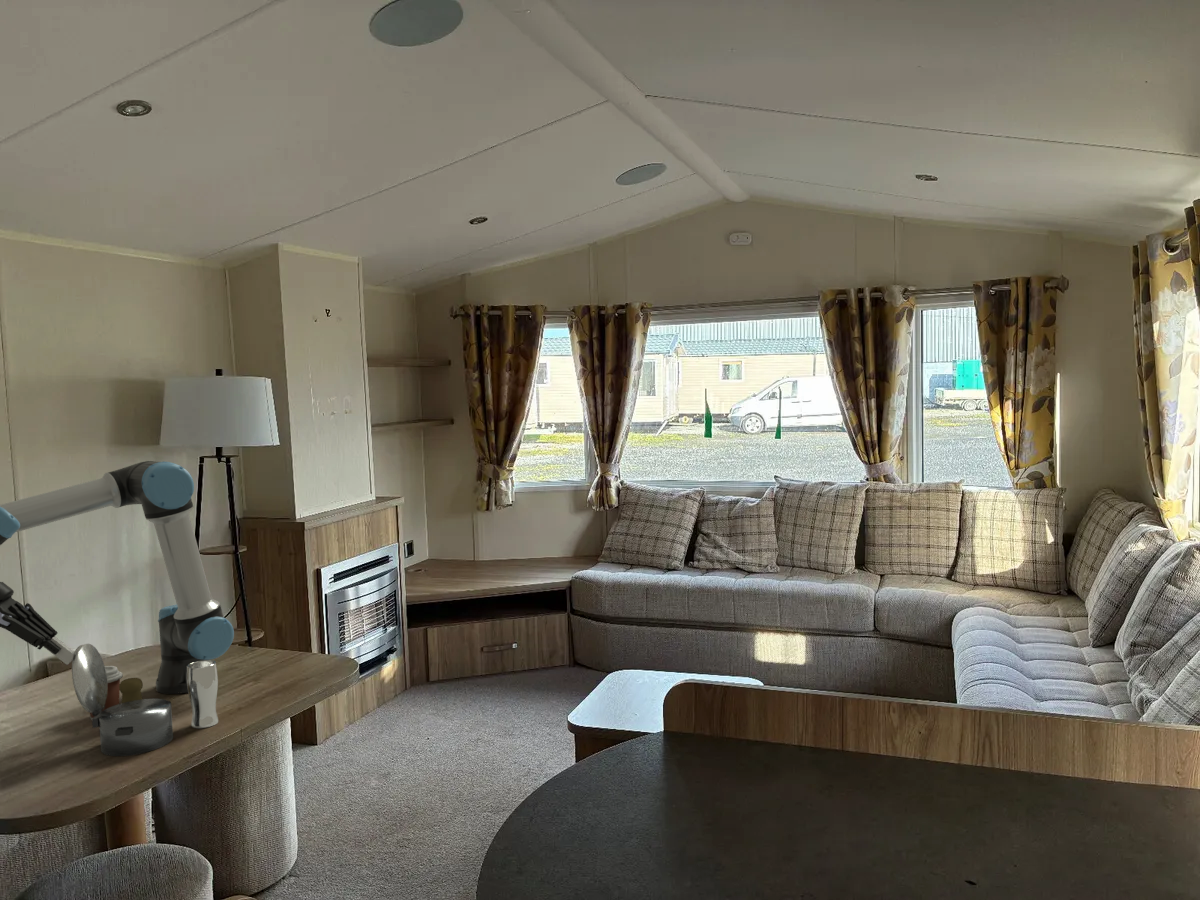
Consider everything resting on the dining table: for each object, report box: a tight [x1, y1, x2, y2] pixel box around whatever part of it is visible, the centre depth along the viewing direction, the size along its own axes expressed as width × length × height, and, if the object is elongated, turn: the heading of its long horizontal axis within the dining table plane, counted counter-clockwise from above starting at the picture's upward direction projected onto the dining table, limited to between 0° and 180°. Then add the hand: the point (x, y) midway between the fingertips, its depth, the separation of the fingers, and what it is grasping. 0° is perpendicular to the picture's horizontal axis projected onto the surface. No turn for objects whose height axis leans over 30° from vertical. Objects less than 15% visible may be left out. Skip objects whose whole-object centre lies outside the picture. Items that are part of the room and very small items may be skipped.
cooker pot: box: [91, 698, 174, 757], centre depth 210 cm, size 16×19×8 cm
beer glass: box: [187, 659, 219, 729], centre depth 221 cm, size 7×7×15 cm
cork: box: [119, 677, 144, 703], centre depth 224 cm, size 6×6×11 cm
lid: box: [71, 643, 108, 716], centre depth 208 cm, size 16×16×2 cm
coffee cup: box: [89, 665, 123, 721], centre depth 229 cm, size 9×9×12 cm
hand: (72, 659), depth 206 cm, fingers closed
